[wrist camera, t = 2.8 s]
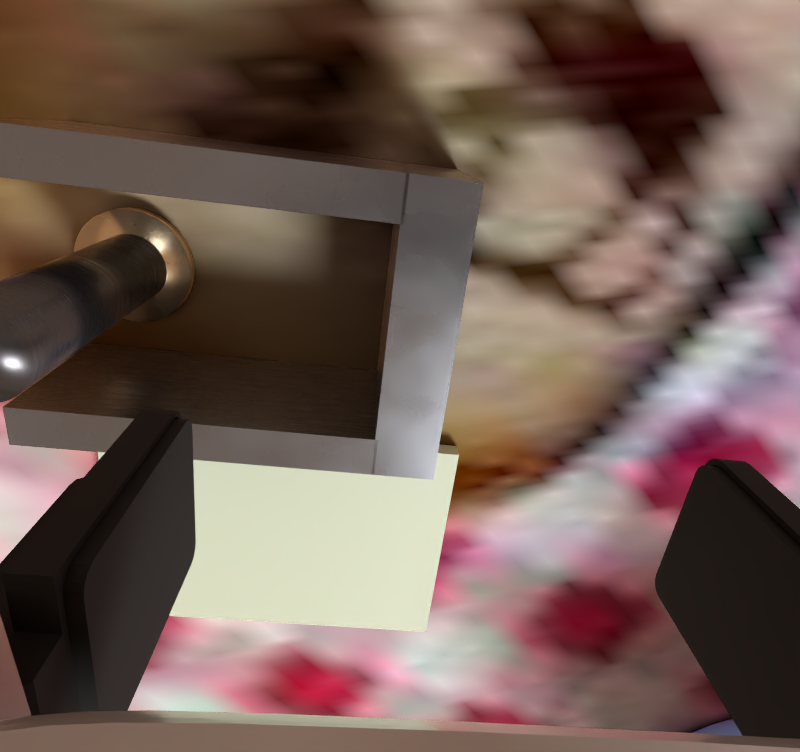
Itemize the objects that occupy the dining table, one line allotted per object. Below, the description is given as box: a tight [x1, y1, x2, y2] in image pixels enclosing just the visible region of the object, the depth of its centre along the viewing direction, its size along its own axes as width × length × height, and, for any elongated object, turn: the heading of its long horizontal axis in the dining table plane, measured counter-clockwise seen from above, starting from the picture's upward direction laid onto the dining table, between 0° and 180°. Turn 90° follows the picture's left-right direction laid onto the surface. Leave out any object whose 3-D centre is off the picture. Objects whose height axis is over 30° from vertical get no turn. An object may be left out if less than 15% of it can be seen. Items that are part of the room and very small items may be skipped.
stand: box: [0, 207, 195, 402], centre depth 18 cm, size 4×4×10 cm
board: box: [98, 444, 459, 632], centre depth 27 cm, size 16×11×1 cm
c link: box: [0, 118, 483, 480], centre depth 20 cm, size 14×10×6 cm
